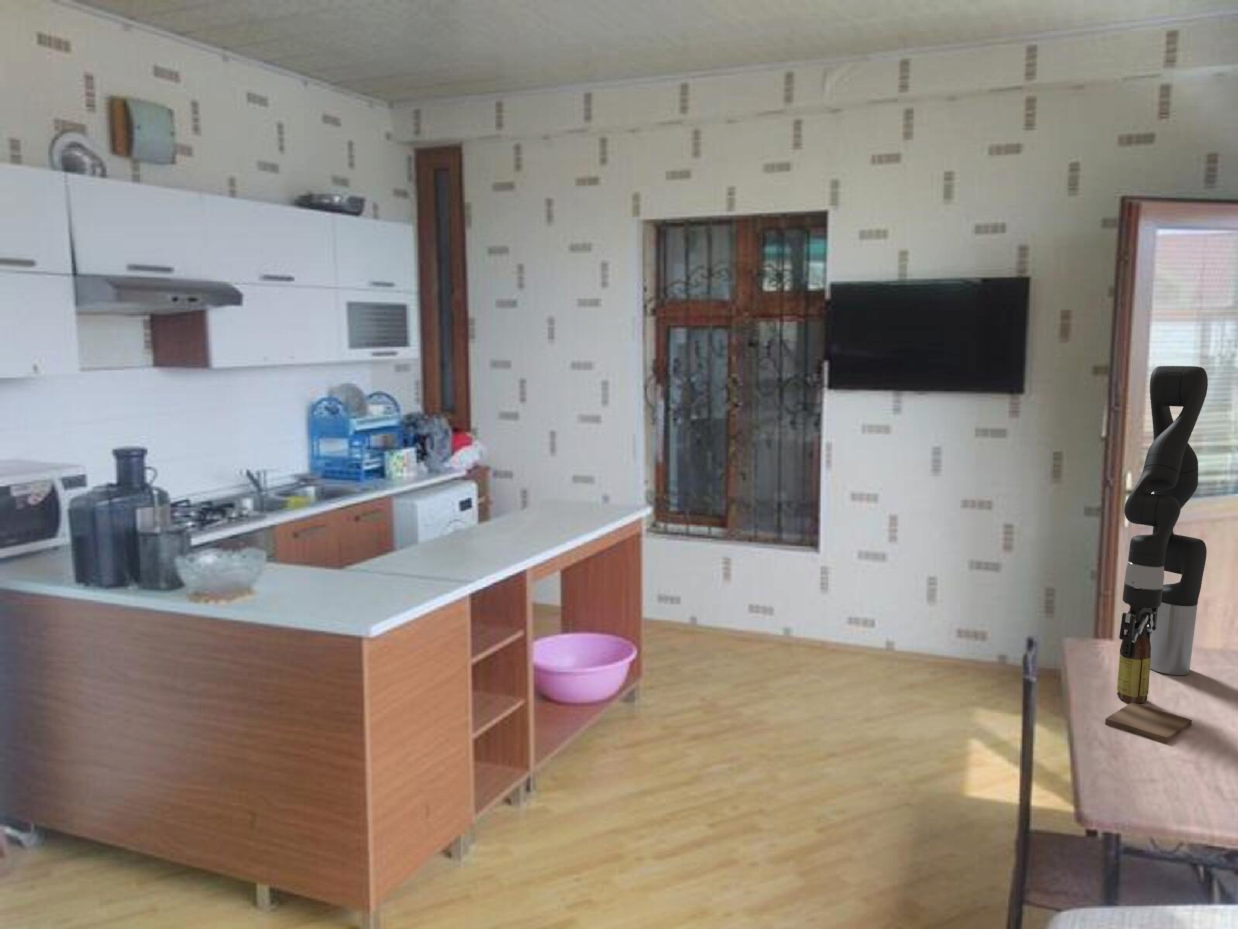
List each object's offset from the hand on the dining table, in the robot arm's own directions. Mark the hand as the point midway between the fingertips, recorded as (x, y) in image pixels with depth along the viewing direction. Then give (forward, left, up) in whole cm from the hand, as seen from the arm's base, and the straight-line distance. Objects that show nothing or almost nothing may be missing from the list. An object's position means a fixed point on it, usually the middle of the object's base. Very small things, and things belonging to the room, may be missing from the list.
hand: (1135, 654), depth 218 cm
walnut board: (+12, +8, -11) cm, 18 cm away
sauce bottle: (0, 0, -11) cm, 11 cm away
